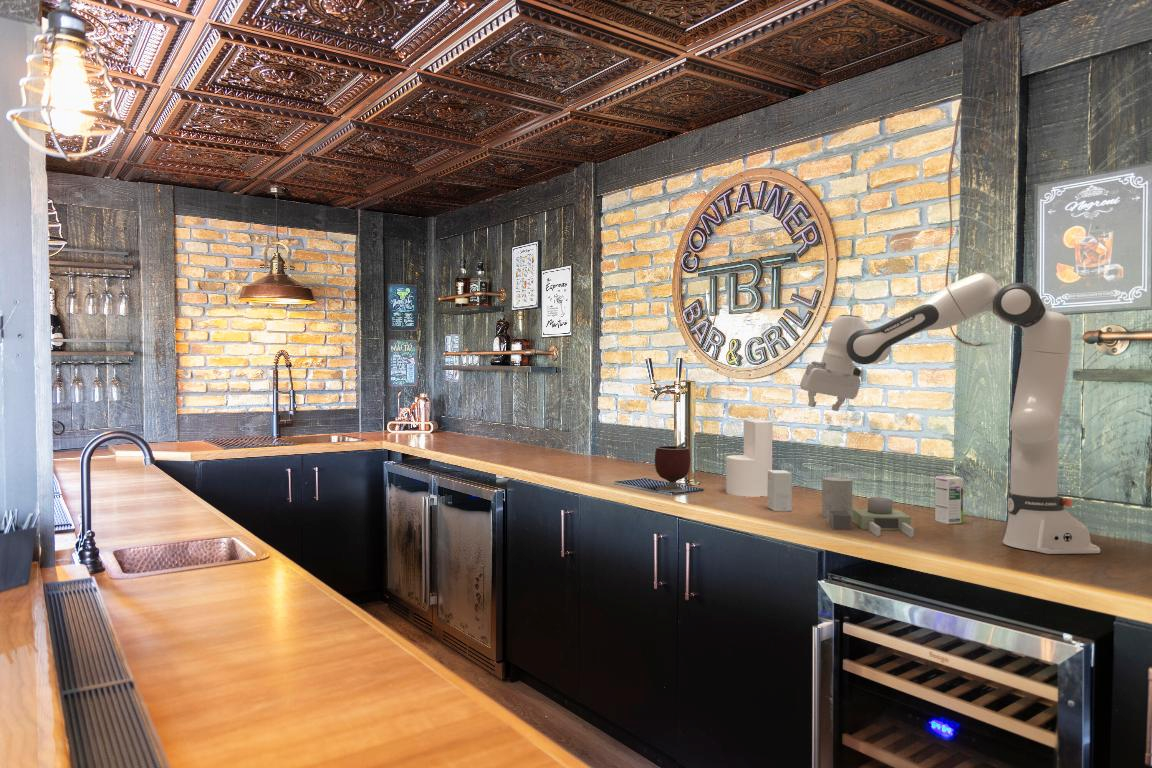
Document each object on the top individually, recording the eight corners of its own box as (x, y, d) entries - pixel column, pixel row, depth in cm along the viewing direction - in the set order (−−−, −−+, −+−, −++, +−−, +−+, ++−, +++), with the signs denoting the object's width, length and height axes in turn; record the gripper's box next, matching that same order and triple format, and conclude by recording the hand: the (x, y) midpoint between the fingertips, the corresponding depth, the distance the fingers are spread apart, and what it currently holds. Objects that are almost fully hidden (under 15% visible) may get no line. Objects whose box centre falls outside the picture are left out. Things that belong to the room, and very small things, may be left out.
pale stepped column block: (764, 489, 302) (765, 419, 302) (777, 496, 285) (778, 422, 284) (721, 489, 302) (722, 419, 301) (731, 496, 284) (732, 422, 284)
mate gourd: (647, 489, 302) (648, 439, 301) (676, 486, 308) (677, 437, 307) (669, 495, 288) (670, 442, 287) (699, 492, 294) (700, 441, 294)
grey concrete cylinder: (854, 519, 242) (855, 481, 242) (823, 518, 244) (823, 480, 244) (850, 514, 251) (850, 477, 251) (820, 512, 253) (820, 476, 253)
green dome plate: (898, 522, 237) (898, 497, 237) (920, 537, 217) (920, 509, 216) (852, 521, 239) (852, 496, 239) (869, 535, 218) (869, 508, 218)
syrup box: (948, 524, 235) (948, 478, 235) (934, 520, 241) (935, 475, 240) (963, 523, 236) (964, 477, 236) (949, 520, 242) (949, 474, 242)
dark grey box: (845, 525, 233) (846, 511, 233) (850, 530, 226) (850, 515, 226) (829, 525, 234) (829, 510, 234) (833, 530, 227) (833, 515, 227)
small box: (792, 511, 256) (792, 473, 255) (773, 511, 255) (774, 473, 255) (784, 507, 264) (785, 469, 263) (766, 507, 264) (767, 469, 263)
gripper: (816, 362, 227) (803, 406, 229) (867, 372, 235) (854, 415, 237) (802, 358, 232) (790, 401, 234) (853, 368, 240) (841, 410, 243)
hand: (823, 408), depth 236 cm, fingers open, 8 cm apart
